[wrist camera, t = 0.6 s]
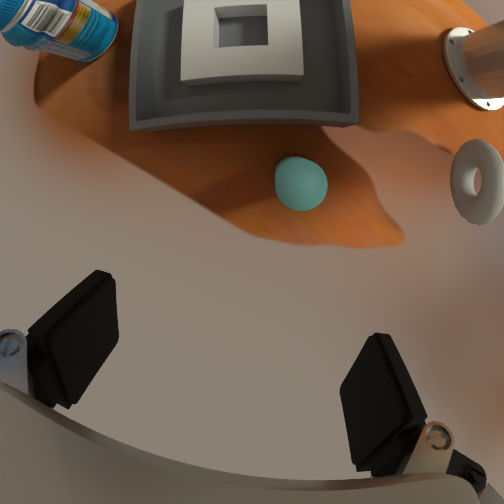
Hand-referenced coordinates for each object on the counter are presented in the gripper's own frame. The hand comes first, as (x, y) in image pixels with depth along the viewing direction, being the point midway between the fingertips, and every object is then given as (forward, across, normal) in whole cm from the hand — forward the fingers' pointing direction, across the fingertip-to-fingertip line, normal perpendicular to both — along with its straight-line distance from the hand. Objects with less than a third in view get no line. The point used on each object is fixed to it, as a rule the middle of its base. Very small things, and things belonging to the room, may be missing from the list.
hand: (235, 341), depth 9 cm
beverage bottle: (+24, +27, -19) cm, 41 cm away
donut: (+24, -23, -10) cm, 35 cm away
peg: (+24, -2, -4) cm, 24 cm away
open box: (+24, +6, -19) cm, 31 cm away
